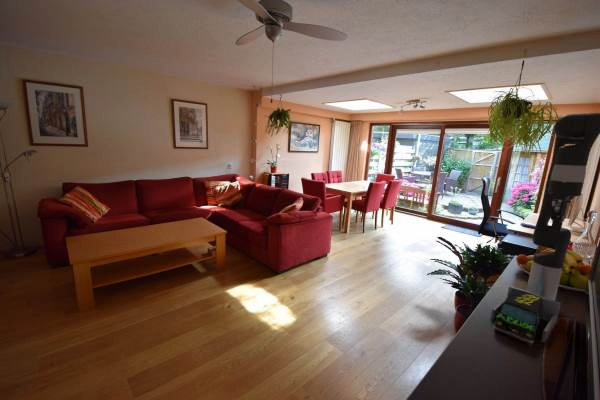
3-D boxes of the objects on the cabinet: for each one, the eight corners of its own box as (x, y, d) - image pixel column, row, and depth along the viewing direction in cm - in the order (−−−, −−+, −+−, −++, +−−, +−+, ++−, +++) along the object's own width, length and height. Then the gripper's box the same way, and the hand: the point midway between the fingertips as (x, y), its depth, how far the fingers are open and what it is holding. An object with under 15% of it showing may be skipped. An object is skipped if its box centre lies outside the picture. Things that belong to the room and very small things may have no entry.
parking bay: (506, 303, 111) (510, 285, 109) (556, 322, 99) (560, 303, 97) (490, 318, 99) (494, 299, 98) (544, 342, 87) (549, 320, 86)
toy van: (491, 333, 91) (496, 306, 89) (506, 307, 108) (510, 284, 106) (531, 350, 83) (538, 321, 82) (541, 320, 100) (546, 295, 98)
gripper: (555, 177, 90) (544, 227, 93) (546, 179, 82) (535, 232, 85) (587, 180, 84) (574, 232, 88) (580, 182, 76) (567, 239, 80)
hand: (555, 232), depth 86 cm, fingers closed
